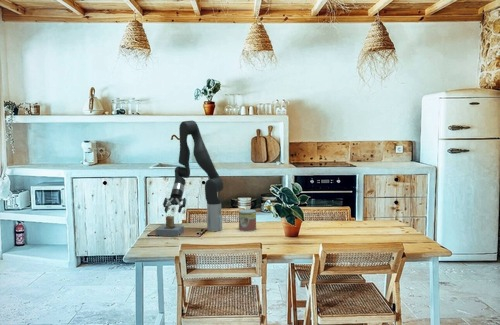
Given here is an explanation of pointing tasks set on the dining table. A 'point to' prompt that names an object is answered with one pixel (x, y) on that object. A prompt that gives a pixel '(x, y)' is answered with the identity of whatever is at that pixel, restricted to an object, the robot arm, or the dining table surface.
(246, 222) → the canned food
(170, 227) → the walnut post
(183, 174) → the robot arm
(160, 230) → the charcoal well block
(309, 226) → the dining table surface
